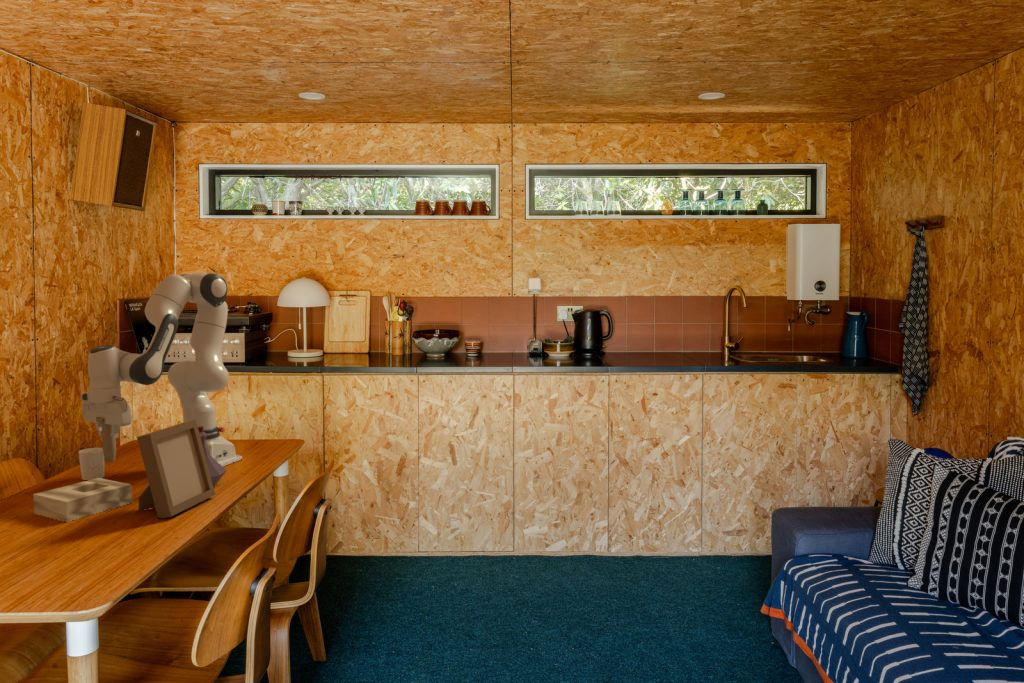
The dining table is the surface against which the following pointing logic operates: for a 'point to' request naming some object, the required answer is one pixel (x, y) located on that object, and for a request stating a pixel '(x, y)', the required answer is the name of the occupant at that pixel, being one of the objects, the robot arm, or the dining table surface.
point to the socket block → (82, 499)
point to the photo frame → (174, 469)
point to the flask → (211, 460)
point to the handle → (107, 441)
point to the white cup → (92, 463)
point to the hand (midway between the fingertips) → (108, 436)
